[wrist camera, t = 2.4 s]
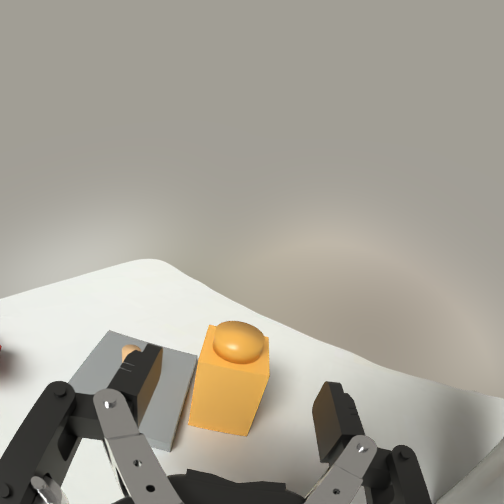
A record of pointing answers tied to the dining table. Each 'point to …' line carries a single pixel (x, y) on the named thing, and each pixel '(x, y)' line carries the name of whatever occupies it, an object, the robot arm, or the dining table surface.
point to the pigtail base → (164, 397)
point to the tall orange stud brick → (230, 378)
